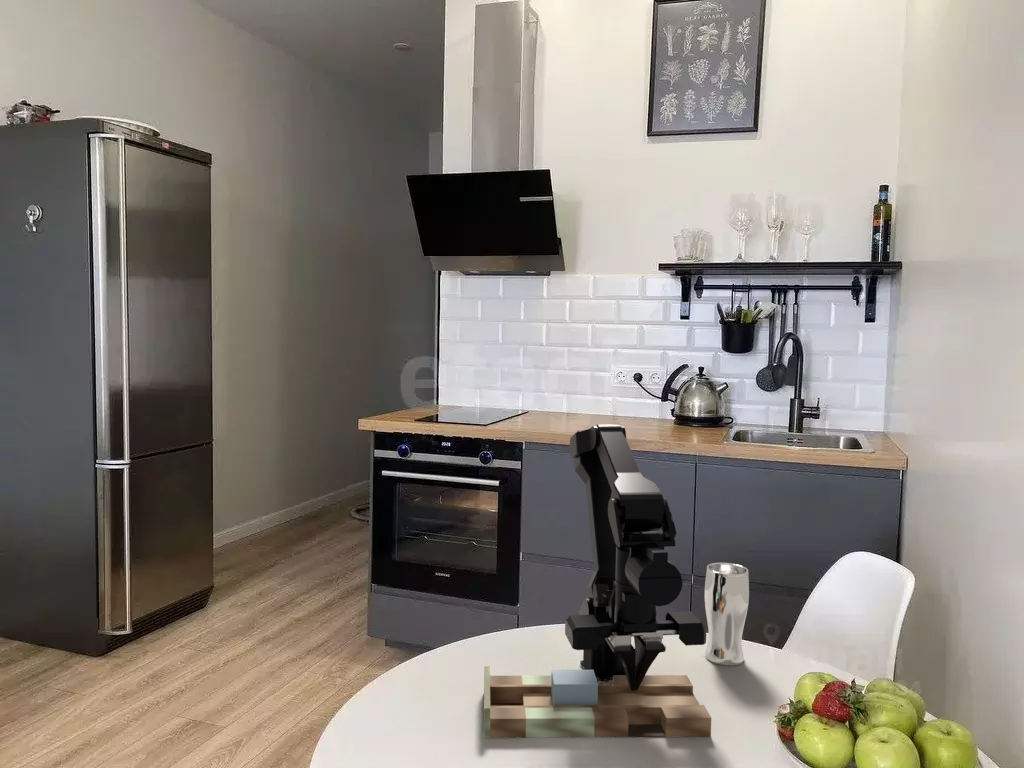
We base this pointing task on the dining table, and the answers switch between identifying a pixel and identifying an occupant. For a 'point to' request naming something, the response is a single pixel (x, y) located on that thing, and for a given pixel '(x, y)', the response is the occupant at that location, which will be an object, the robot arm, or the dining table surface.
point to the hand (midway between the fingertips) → (633, 689)
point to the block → (574, 687)
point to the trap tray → (593, 709)
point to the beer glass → (726, 612)
